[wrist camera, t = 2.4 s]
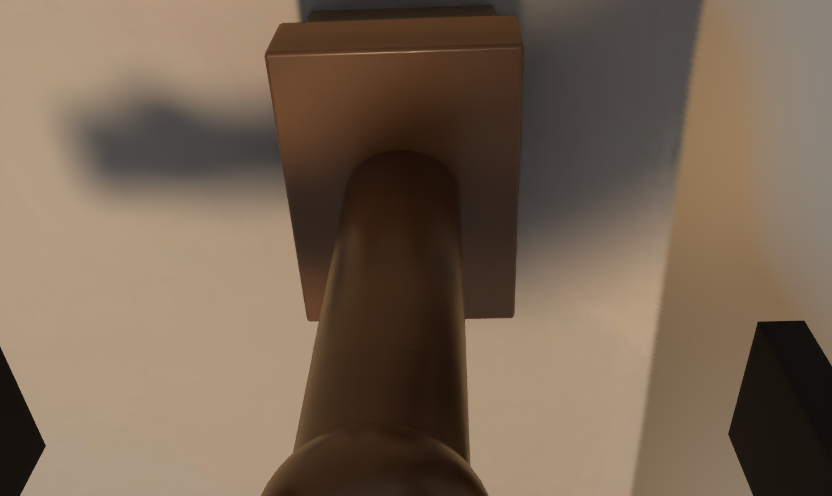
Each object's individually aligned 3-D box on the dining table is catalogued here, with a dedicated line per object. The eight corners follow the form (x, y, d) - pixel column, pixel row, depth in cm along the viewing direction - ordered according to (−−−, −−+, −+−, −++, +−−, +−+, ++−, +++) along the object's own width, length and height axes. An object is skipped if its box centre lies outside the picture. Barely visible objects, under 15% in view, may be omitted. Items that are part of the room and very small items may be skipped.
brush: (292, -5, 20) (45, 482, 8) (510, -12, 20) (628, 478, 7) (324, 239, 24) (201, 804, 12) (504, 235, 24) (572, 810, 12)
